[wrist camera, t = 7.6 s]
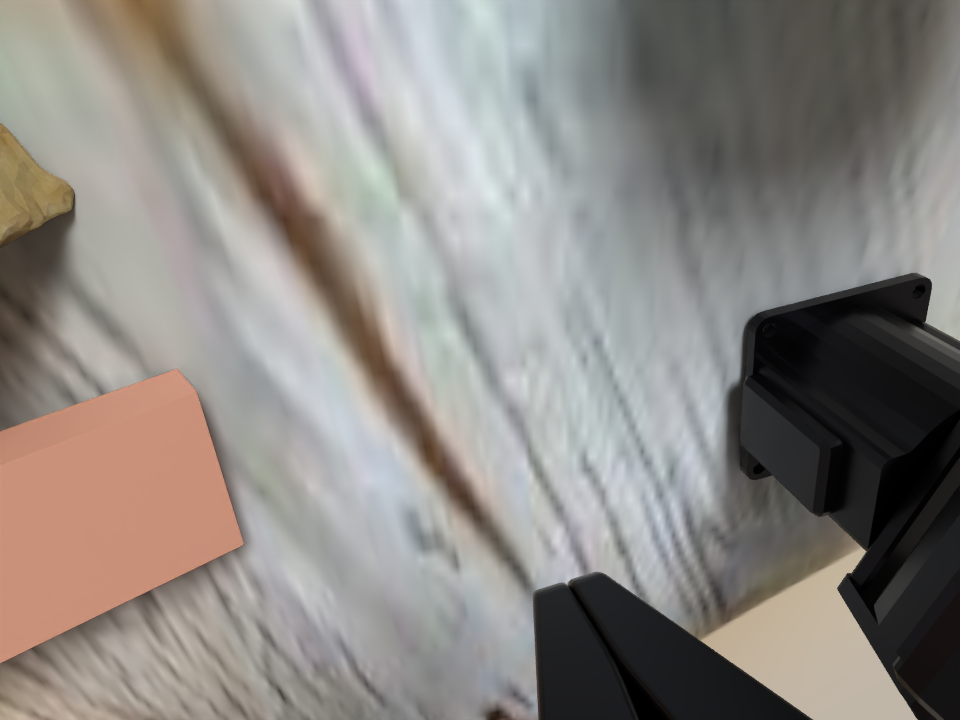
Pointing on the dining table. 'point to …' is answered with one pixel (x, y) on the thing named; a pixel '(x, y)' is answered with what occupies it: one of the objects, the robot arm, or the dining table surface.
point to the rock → (27, 191)
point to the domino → (106, 507)
